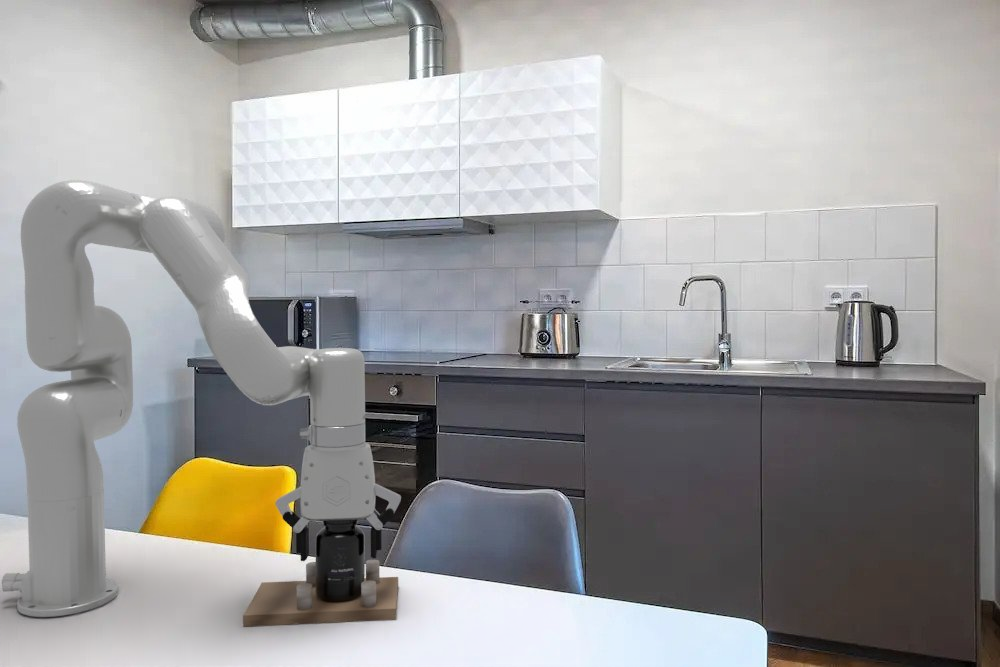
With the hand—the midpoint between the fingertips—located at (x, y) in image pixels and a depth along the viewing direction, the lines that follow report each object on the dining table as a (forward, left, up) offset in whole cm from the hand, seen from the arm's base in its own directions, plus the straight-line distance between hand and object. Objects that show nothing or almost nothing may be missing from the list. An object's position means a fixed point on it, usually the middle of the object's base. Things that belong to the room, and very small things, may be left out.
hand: (339, 556), depth 107 cm
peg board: (-2, 0, -7) cm, 7 cm away
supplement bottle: (0, 0, -6) cm, 6 cm away
